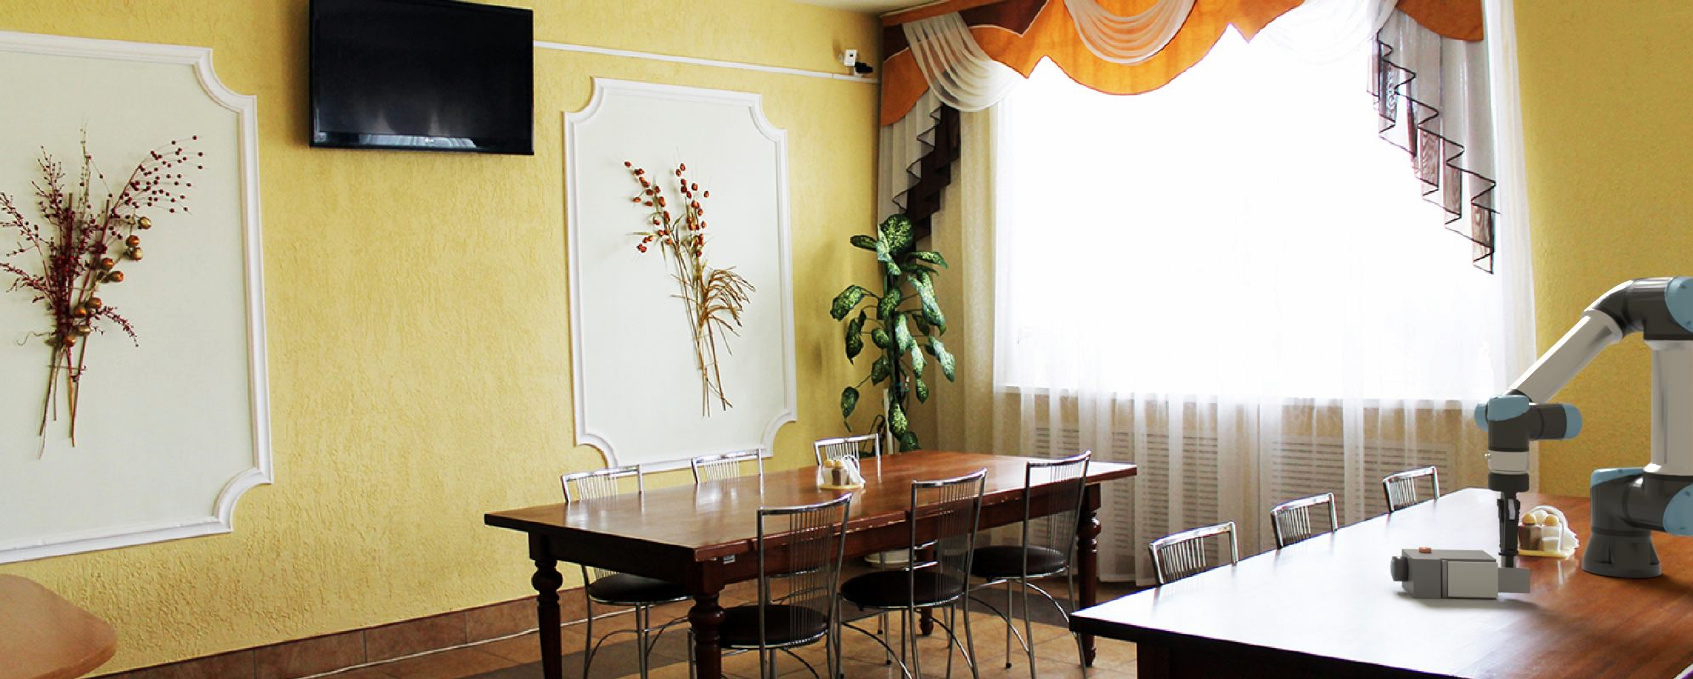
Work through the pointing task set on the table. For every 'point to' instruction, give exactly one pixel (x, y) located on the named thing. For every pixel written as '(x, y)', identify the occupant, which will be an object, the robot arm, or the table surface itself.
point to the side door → (1482, 579)
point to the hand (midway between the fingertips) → (1508, 586)
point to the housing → (1430, 569)
